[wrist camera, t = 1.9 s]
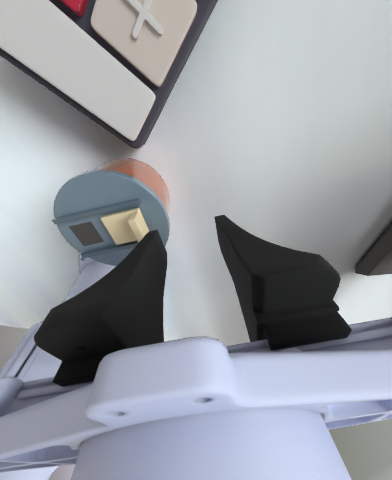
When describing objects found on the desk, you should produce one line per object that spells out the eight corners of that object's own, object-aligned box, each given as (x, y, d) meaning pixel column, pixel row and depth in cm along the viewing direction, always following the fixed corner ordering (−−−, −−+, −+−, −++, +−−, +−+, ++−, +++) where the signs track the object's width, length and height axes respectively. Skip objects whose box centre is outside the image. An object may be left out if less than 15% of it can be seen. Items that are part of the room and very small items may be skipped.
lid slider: (138, 207, 14) (134, 217, 13) (151, 235, 16) (148, 247, 14) (101, 216, 14) (92, 227, 13) (117, 242, 16) (111, 255, 14)
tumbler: (156, 144, 18) (145, 159, 12) (180, 222, 23) (181, 259, 17) (70, 166, 18) (18, 191, 12) (113, 237, 24) (92, 278, 18)
